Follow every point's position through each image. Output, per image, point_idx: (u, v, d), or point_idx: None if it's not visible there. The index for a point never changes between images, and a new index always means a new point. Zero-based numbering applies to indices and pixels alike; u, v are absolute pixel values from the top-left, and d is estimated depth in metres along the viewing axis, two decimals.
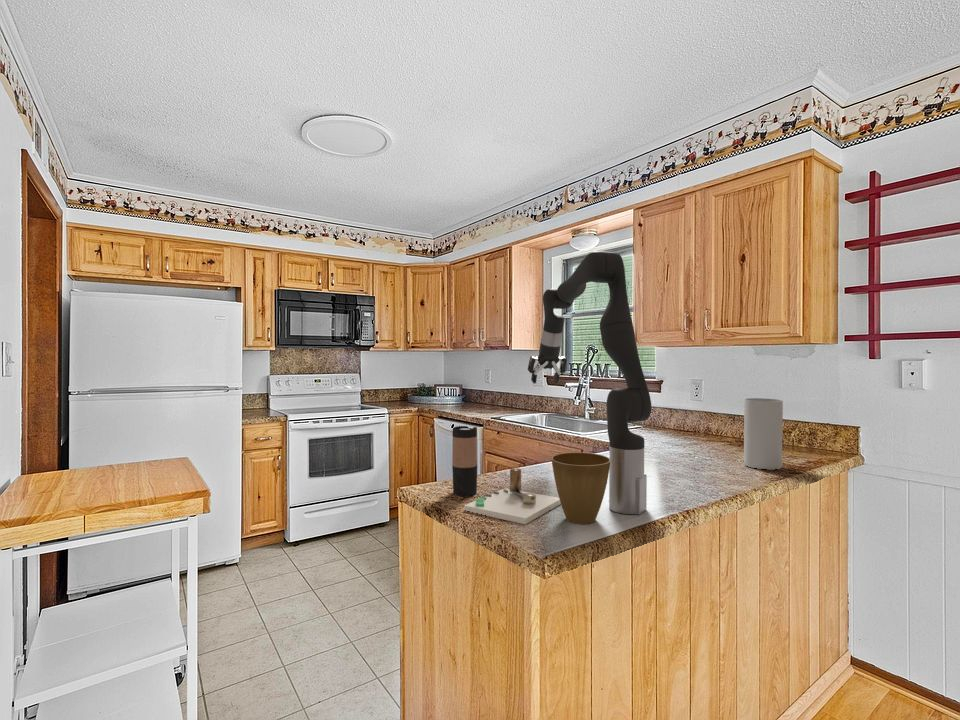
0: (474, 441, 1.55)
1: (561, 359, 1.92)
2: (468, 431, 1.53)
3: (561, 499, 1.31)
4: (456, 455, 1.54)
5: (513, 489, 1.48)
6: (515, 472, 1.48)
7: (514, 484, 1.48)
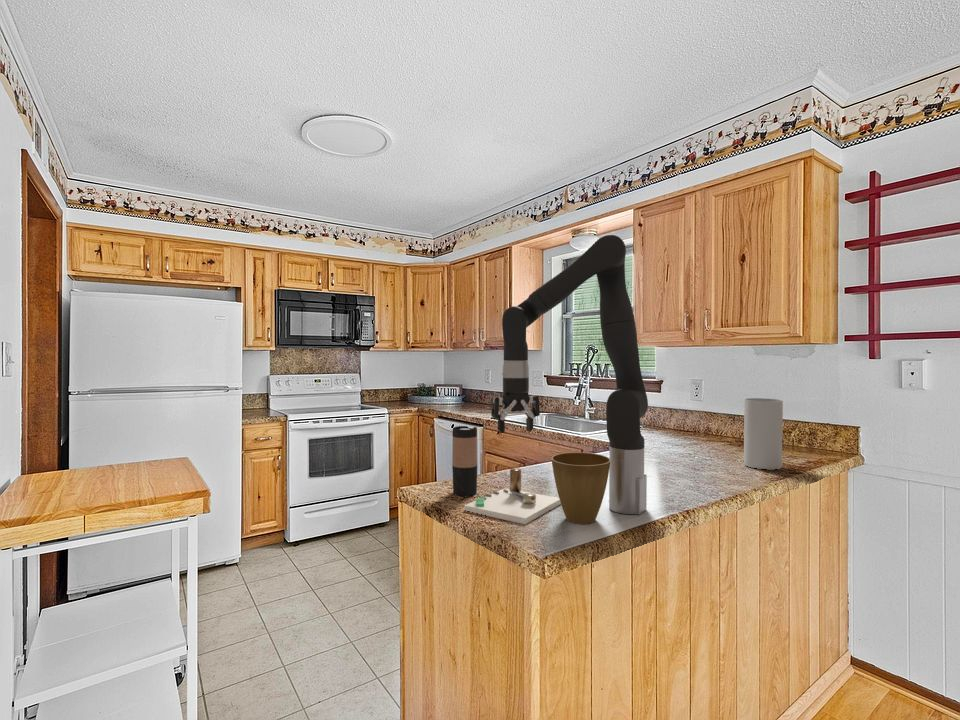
0: (474, 441, 1.55)
1: (532, 398, 1.50)
2: (468, 431, 1.53)
3: (561, 499, 1.31)
4: (456, 455, 1.54)
5: (513, 489, 1.48)
6: (515, 472, 1.48)
7: (514, 484, 1.48)
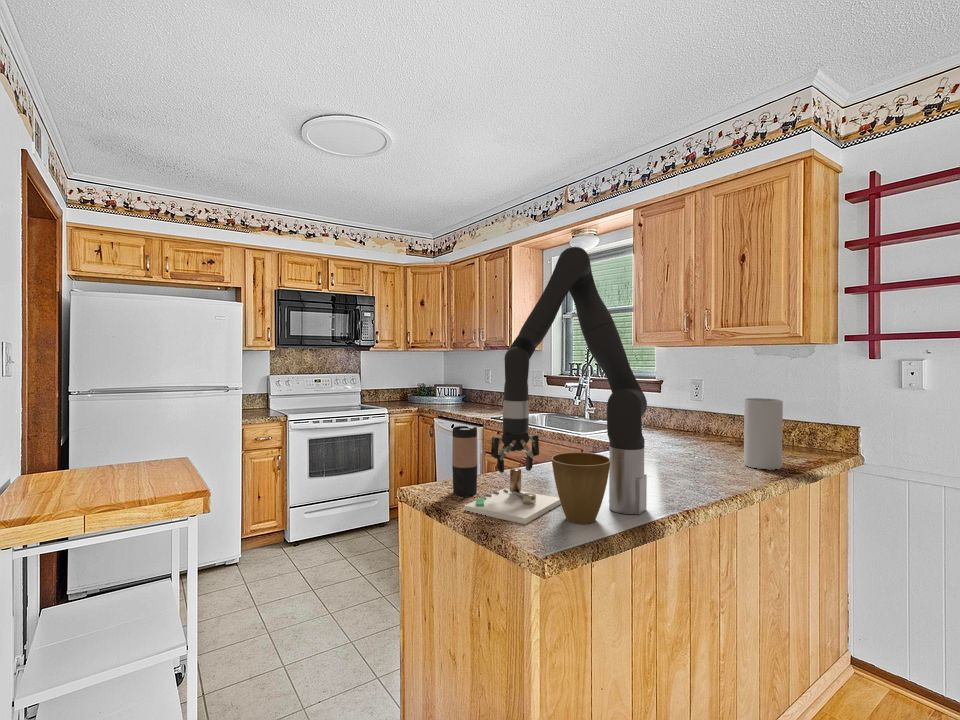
0: (474, 441, 1.55)
1: (532, 437, 1.51)
2: (468, 431, 1.53)
3: (561, 499, 1.31)
4: (456, 455, 1.54)
5: (513, 489, 1.48)
6: (515, 472, 1.48)
7: (514, 484, 1.48)
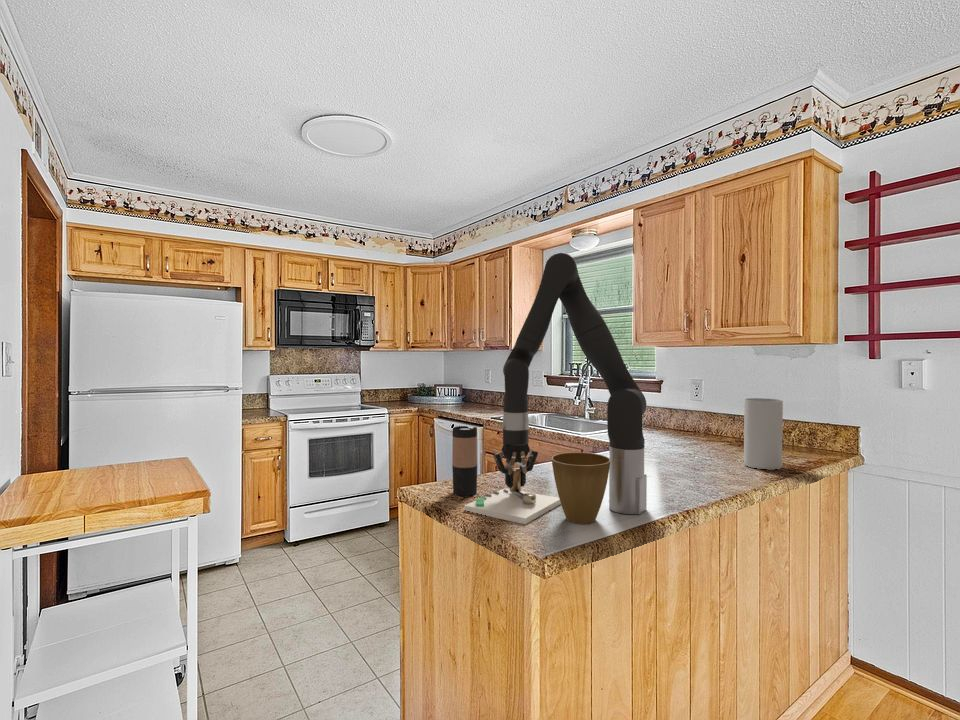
0: (474, 441, 1.55)
1: (531, 452, 1.51)
2: (468, 431, 1.53)
3: (561, 499, 1.31)
4: (456, 455, 1.54)
5: (513, 489, 1.48)
6: (515, 472, 1.48)
7: (514, 484, 1.48)
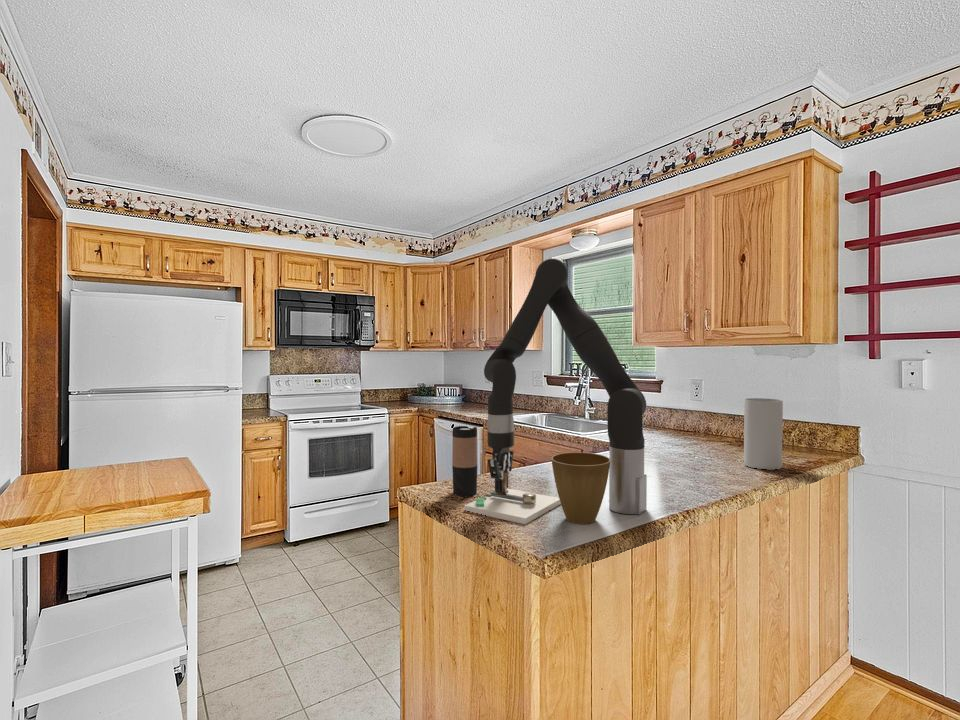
0: (474, 441, 1.55)
1: (509, 452, 1.50)
2: (468, 431, 1.53)
3: (561, 499, 1.31)
4: (456, 455, 1.54)
5: (501, 493, 1.45)
6: (504, 475, 1.45)
7: (503, 487, 1.45)
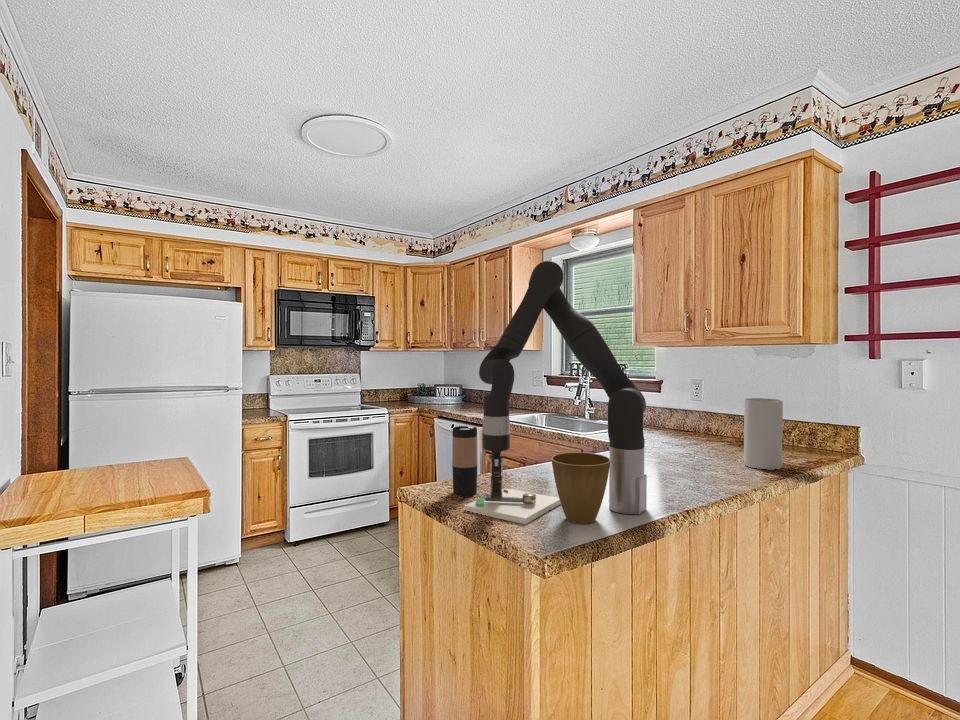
0: (474, 441, 1.55)
1: None
2: (468, 431, 1.53)
3: (561, 499, 1.31)
4: (456, 455, 1.54)
5: (499, 496, 1.41)
6: None
7: (501, 490, 1.41)
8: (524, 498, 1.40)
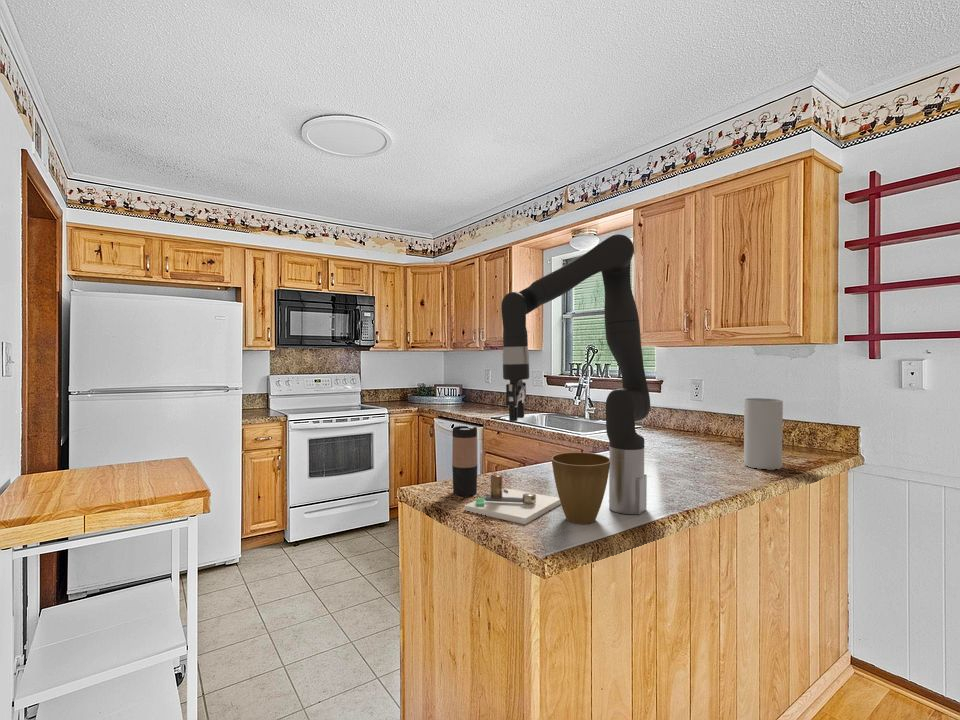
0: (474, 441, 1.55)
1: None
2: (468, 431, 1.53)
3: (561, 499, 1.31)
4: (456, 455, 1.54)
5: (499, 496, 1.41)
6: (501, 478, 1.42)
7: (501, 490, 1.41)
8: (524, 498, 1.40)
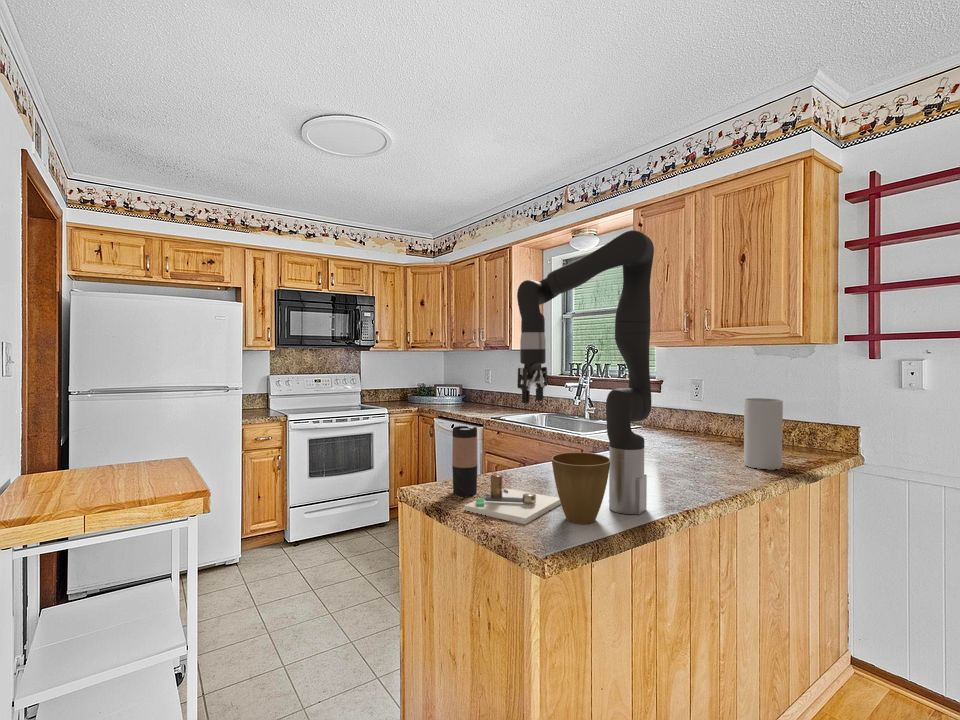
0: (474, 441, 1.55)
1: (542, 369, 1.59)
2: (468, 431, 1.53)
3: (561, 499, 1.31)
4: (456, 455, 1.54)
5: (499, 496, 1.41)
6: (501, 478, 1.42)
7: (501, 490, 1.41)
8: (524, 498, 1.40)
